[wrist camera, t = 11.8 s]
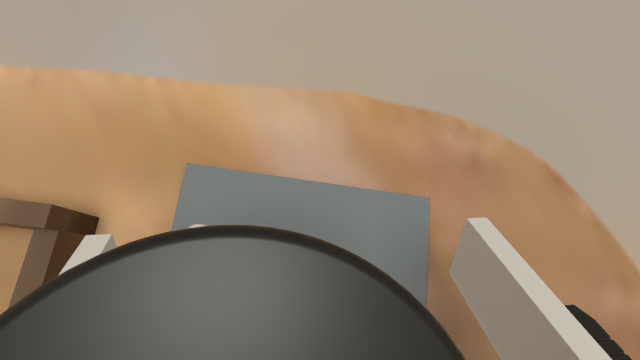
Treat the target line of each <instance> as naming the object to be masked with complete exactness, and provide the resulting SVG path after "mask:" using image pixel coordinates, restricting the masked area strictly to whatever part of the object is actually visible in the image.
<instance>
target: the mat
mask: <svg viewBox="0 0 640 360" xmlns="http://www.w3.org/2000/svg"><path fill="white" fill-rule="evenodd" d="M429 212H430V198H425V197H418V196H412V195H405V194H398V193H391V192H384V191H377V190H370V189H363V188H356V187H349V186H342V185H335V184H328V183H321V182H314V181H307V180H300V179H293V178H286V177H279V176H272V175H265V174H258V173H251V172H244V171H237V170H230V169H223V168H216V167H209V166H203V165H196V164H189V163H187V164H186V169H185V173H184V178H183V182H182V187H181V191H180V195H179V200H178V204H177V209H176V213H175V217H174V222H173V226H172V231H175V230H181V229H186V228H188V227H190V226H191V225H194V224H203V225H207V226H212V225H254V226H264V227H272V228H278V229H284V230H289V231H293V232H297V233H302V234H306V235H309V236H312V237H315V238H318V239H321V240H324V241H327V242H329V243H332V244H334V245H337V246H339V247H341V248H344V249H346V250H348V251H350V252H352V253H354V254H356V255H358V256H360V257H361V258H363V259H365V260H366V261H368V262H370V263H371V264H373V265H375V266H376V267H378V268H379V269H381V270H382V271H383V272H385V273H386V274H388V275H389V276H391V277H392V278H393V279H394V280H395V281H397V282H398V283H399V284H400V285H402V286H403V287H404V288H405V289H407V290H408V291H409V292H410V293H411V294H412V295H413V296H414V297H415V298H416V299H417V300H418V301H419V302H420V303H421V304H422V305H423V306H424V307H426V298H427V269H428V240H429Z"/></svg>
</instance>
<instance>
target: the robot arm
mask: <svg viewBox="0 0 640 360" xmlns="http://www.w3.org/2000/svg"><path fill="white" fill-rule="evenodd" d="M114 248H117V247H116V244H115V241H114V238H113V235H112V234H103V235H86V236H85V237H84V239H83V240H82V242H81V243H80V245H79V246H78V247H77V249H76V250H75V252H74V253H73V255H72V256H71V258H70V259H69V260H68V262H67V263H66V265H65V266H64V268H63V269H62V271H61V272H60V273H59V275H60V274H62V273H63V272H65V271H67V270H68V269H70V268H73V267H75V266H77V265H79V264H81V263H83V262H85V261H87V260H89V259H91V258H93V257H95V256H97V255H99V254H102V253H104V252H107V251H109V250H112V249H114ZM449 274H450V276H451V278H452V279H453V281H454V283H455V284H456V286H457V288H458V289H459V291H460V293H461V294H462V296H463V298H464V299H465V301H466V303H467V304H468V306H469V308H470V309H471V311H472V313H473V314H474V316H475V318H476V320H477V321H478V323H479V325H480V326H481V328H482V330H483V331H484V333H485V335H486V336H487V338H488V340H489V341H490V343H491V345H492V346H493V348H494V350H495V351H496V353H497V355H498V356H499V358H500V360H632V359H631V358H630V357H629V356H628V355H625V354H624V352H623V350H622V349H621V348H620V347H619V345H618V344H617V343H616V342H615V341H614V340H611V339H610V336H609V335H608V334H607V333H606V332H605V330H604V329H603V328H602V327H601V326H600V325H599V324H598V323H597V322H596V321H595V320H594V319H593V318H592V317H590V316H589V315H587V314H586V313H585V312H583V311H582V310H580V309H579V308H578V307H576V306H575V305H565V306H564V305H563V304H562V302H561V301H560V300H559V299H558V298H557V297H556V296H555V295H554V293H553V292H552V291H551V290H550V289H549V288H548V287H547V285H546V284H545V283H544V282H543V281H542V280H541V279H540V278H539V276H538V275H537V274H536V273H535V272H534V271H533V270H532V269H531V267H530V266H529V265H528V264H527V263H526V262H525V261H524V259H523V258H522V257H521V256H520V255H519V254H518V253H517V252H516V250H515V249H514V248H513V247H512V246H511V245H510V244H509V243H508V241H507V240H506V239H505V238H504V237H503V236H502V235H501V233H500V232H499V231H498V230H497V229H496V228H495V227H494V226H493V224H492V223H491V222H490V221H489V220H488V219H487V218H467V219H466V222H465V225H464V228H463V231H462V235H461V238H460V241H459V244H458V247H457V250H456V253H455V256H454V259H453V262H452V265H451V268H450V271H449Z"/></svg>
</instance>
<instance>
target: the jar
mask: <svg viewBox="0 0 640 360" xmlns="http://www.w3.org/2000/svg"><path fill="white" fill-rule="evenodd" d="M0 360H465V358H464V357H463V355H462V353H461V352H460V350H459V349H458V347H457V346H456V345H455V343H454V342H453V340H452V339H451V338H450V336H449V335H448V333H447V332H446V331H445V329H444V328H443V327H442V326H441V325H440V323H439V322H438V321H437V320H436V319H435V318H434V316H433V315H432V314H431V313H430V312H429V311H428V309H427V308H426V307H424V306H423V305H422V304H421V303H420V302H419V301H418V300H417V299H416V298H415V297H414V296H413V295H412V294H411V293H410V292H409V291H408V290H407V289H405V288H404V287H403V286H402V285H400V284H399V283H398V282H397V281H395V280H394V279H393V278H392V277H391V276H389V275H388V274H386V273H385V272H383V271H382V270H381V269H379V268H378V267H376V266H375V265H373V264H371V263H370V262H368V261H366V260H365V259H363V258H361V257H360V256H358V255H356V254H354V253H352V252H350V251H348V250H346V249H344V248H341V247H339V246H337V245H334V244H332V243H329V242H327V241H324V240H321V239H318V238H315V237H312V236H309V235H306V234H302V233H297V232H293V231H289V230H284V229H278V228H272V227H264V226H254V225H212V226H207V225H203V224H194V225H191V226H190V227H188V228H186V229H181V230H175V231H170V232H165V233H161V234H158V235H154V236H150V237H146V238H143V239H140V240H136V241H133V242H130V243H127V244H124V245H122V246H119V247H117V248H114V249H112V250H109V251H107V252H104V253H102V254H99V255H97V256H95V257H93V258H91V259H89V260H87V261H85V262H83V263H81V264H79V265H77V266H75V267H73V268H70V269H68V270H67V271H65V272H63V273H62V274H60V275H58V276H57V277H55V278H53V279H52V280H50V281H48V282H47V283H45V284H43V285H42V286H40V287H38V288H37V289H35V290H34V291H32V292H31V293H30V294H28V295H27V296H25V297H24V298H23V299H21V300H20V301H18V302H17V303H16V304H14V305H13V306H11V307H10V308H8V309H7V310H6V311H5V312H3V313H2V314H1V315H0Z"/></svg>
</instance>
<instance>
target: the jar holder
mask: <svg viewBox="0 0 640 360" xmlns="http://www.w3.org/2000/svg"><path fill="white" fill-rule="evenodd" d="M98 219H99V218H98V217H94V216H91V215H87V214H84V213H80V212H76V211H73V210H69V209H66V208H62V207H58V206H55V205H51V204H43V203H35V202H28V201H20V200H12V199H4V198H0V225H4V226H12V227H20V228H28V229H34V232H33V235H32V238H31V241H30V244H29V247H28V250H27V253H26V256H25V259H24V262H23V265H22V268H21V271H20V274H19V277H18V280H17V283H16V286H15V289H14V292H13V295H12V298H11V302H10V305H9V308H10V307H11V306H13V305H14V304H16V303H17V302H18V301H20V300H21V299H23V298H24V297H25V296H27V295H28V294H30V293H31V292H32V291H34V290H35V289H37V288H38V287H40V286H42V285H43V284H45V283H47V282H48V281H50V280H52V279H53V278H55V277H57V276H58V275H59V273H60V272H61V271H62V269H63V268H64V266H65V265H66V263H67V262H68V260H69V259H70V258H71V256H72V255H73V253H74V252H75V250H76V249H77V247H78V246H79V245H80V243H81V242H82V240H83V239H84V237H85V236H86V235H94V233H95V230H96V226H97V223H98Z"/></svg>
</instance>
